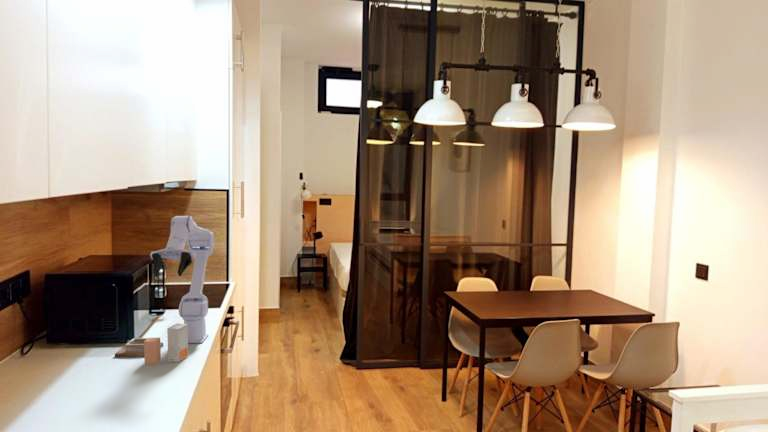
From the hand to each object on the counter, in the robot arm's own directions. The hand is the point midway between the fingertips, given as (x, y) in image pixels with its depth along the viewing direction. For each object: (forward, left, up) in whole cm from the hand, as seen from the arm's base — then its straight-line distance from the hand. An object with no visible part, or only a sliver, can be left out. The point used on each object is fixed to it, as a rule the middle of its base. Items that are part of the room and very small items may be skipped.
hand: (167, 274), depth 170 cm
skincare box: (-8, 0, -32) cm, 33 cm away
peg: (-6, -8, -32) cm, 33 cm away
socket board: (-17, -16, -32) cm, 40 cm away
